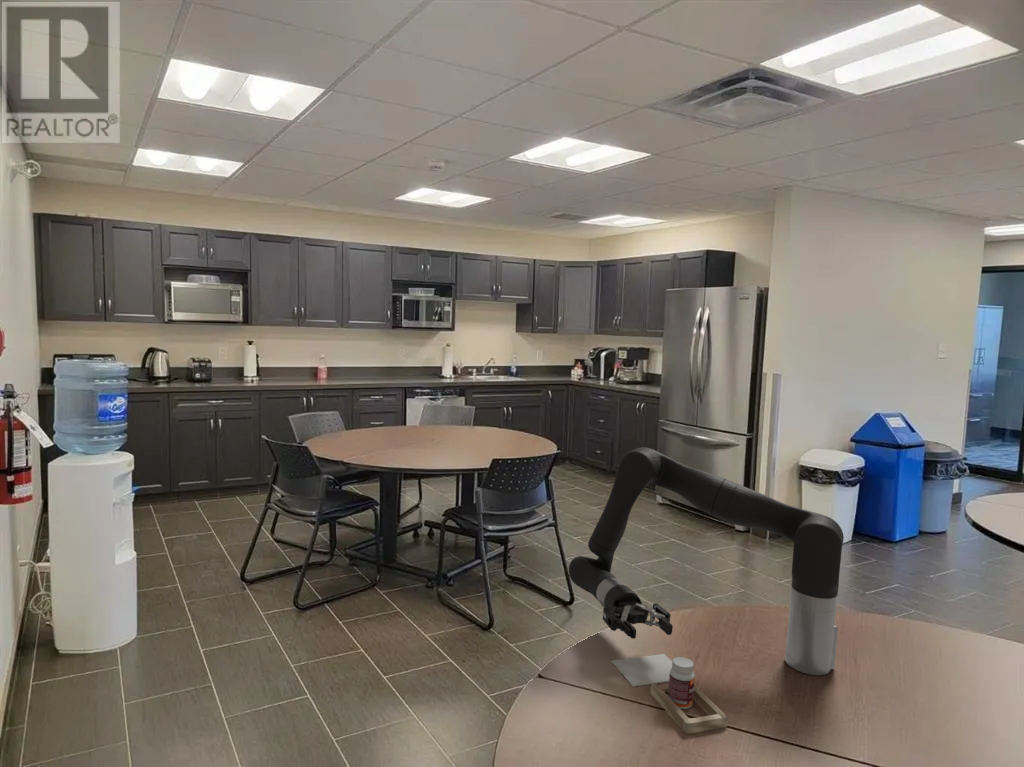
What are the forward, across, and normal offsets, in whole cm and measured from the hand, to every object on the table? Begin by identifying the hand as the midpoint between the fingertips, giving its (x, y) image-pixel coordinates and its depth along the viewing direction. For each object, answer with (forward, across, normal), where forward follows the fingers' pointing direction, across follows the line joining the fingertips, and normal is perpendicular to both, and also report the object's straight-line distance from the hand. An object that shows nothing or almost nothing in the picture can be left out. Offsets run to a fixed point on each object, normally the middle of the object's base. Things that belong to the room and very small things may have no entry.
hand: (652, 632), depth 137 cm
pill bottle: (+12, 0, +9) cm, 14 cm away
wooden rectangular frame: (+14, 0, +9) cm, 16 cm away
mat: (0, 0, +9) cm, 9 cm away
